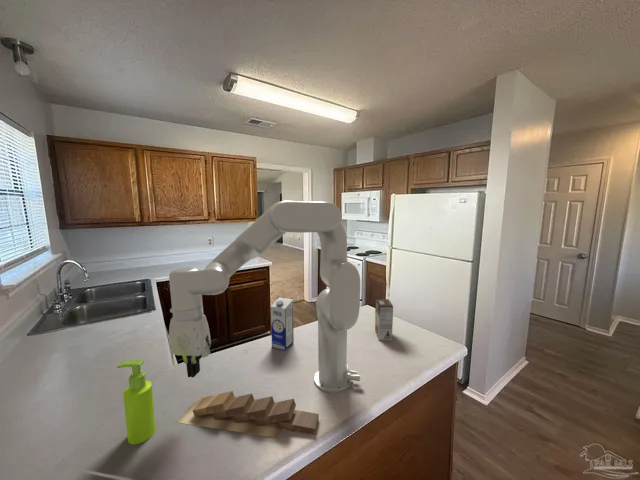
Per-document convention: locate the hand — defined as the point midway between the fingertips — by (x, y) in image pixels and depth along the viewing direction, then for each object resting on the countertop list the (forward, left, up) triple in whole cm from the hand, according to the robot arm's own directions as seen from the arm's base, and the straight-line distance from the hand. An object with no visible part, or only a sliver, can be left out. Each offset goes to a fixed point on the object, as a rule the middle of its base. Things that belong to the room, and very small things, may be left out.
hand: (194, 374), depth 74 cm
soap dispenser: (+9, +10, -11) cm, 18 cm away
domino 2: (-7, 0, -10) cm, 12 cm away
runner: (-12, 0, -11) cm, 17 cm away
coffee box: (-56, -56, -11) cm, 80 cm away
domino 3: (-13, 0, -10) cm, 17 cm away
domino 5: (-26, 0, -10) cm, 27 cm away
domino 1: (-1, 0, -10) cm, 10 cm away
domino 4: (-20, 0, -10) cm, 22 cm away
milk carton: (-13, -40, -11) cm, 43 cm away
